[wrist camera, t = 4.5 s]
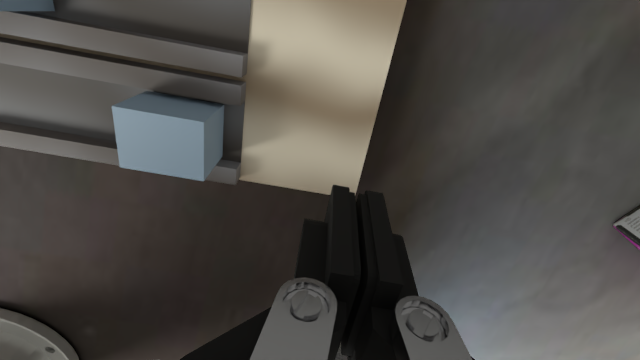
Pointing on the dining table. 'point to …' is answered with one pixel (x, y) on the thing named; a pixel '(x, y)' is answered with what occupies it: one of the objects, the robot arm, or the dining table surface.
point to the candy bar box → (630, 227)
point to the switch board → (206, 79)
